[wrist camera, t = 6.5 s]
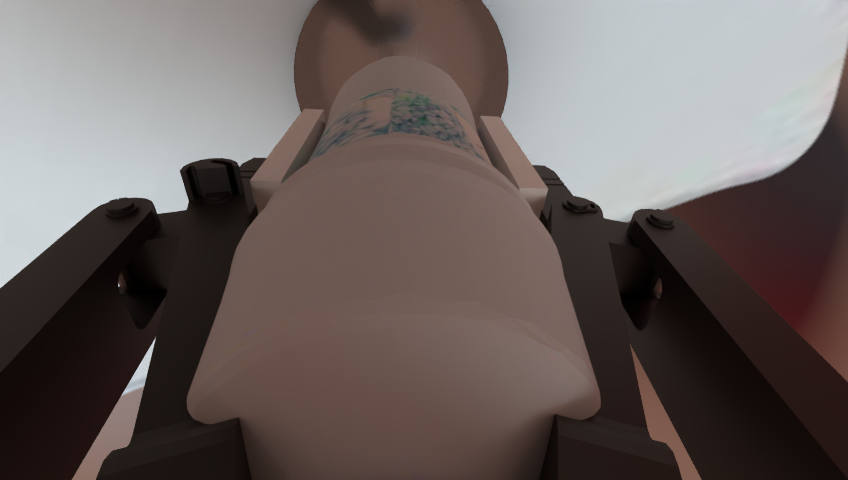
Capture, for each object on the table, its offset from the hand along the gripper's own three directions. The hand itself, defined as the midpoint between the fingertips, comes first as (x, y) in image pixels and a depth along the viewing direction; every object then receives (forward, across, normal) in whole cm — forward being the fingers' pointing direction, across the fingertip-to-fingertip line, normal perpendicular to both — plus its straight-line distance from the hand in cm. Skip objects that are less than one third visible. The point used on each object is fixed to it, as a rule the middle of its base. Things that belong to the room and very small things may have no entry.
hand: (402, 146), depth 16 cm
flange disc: (+11, 0, 0) cm, 11 cm away
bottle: (+4, 0, 0) cm, 4 cm away
